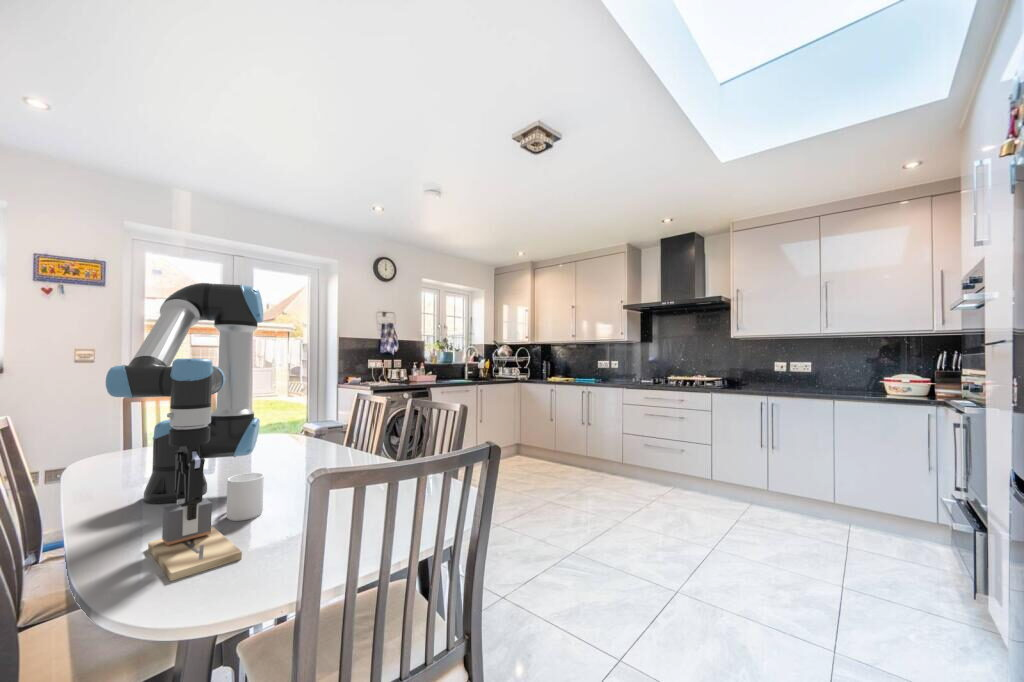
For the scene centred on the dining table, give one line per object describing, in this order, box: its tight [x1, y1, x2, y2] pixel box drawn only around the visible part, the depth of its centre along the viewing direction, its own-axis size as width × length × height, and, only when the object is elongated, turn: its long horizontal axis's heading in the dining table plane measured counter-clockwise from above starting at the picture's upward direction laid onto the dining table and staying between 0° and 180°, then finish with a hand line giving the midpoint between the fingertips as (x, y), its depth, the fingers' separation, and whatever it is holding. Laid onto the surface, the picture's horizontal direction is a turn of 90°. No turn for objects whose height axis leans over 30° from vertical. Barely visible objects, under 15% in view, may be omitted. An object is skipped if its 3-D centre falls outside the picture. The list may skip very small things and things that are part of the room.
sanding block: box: [161, 498, 213, 545], centre depth 97 cm, size 4×8×7 cm, turn 140°
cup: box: [226, 472, 265, 522], centre depth 116 cm, size 8×12×10 cm
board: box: [147, 525, 243, 582], centre depth 93 cm, size 20×12×2 cm, turn 50°
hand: (186, 530), depth 97 cm, fingers closed on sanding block, 4 cm apart
